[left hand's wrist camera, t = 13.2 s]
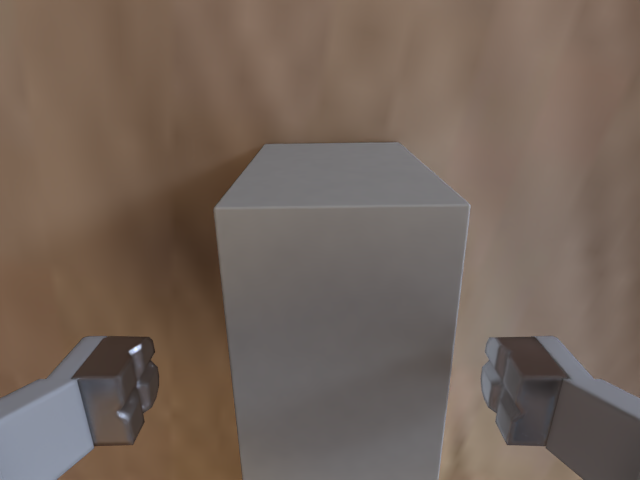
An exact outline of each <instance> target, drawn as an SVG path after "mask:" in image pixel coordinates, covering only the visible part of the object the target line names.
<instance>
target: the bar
mask: <svg viewBox="0 0 640 480" xmlns="http://www.w3.org/2000/svg"><path fill="white" fill-rule="evenodd" d="M470 207H471V206H470V204H469V203H468V202H467V201H466V200H465V199H463V198H462V197H461V196H460V195H459V194H458V193H457V192H455V191H454V190H453V189H452V188H451V187H450V186H448V185H447V184H446V183H445V182H444V181H443V180H442V179H440V178H439V177H438V176H437V175H436V174H435V173H434V172H432V171H431V170H430V169H429V168H428V167H427V166H426V165H424V164H423V163H422V162H421V161H420V160H419V159H417V158H416V157H415V156H414V155H413V154H412V153H411V152H409V151H408V150H407V149H406V148H405V147H404V146H403V145H401V144H400V143H399V142H385V143H311V144H265V145H264V146H263V147H262V148H261V150H260V151H259V152H258V153H257V155H256V156H255V157H254V158H253V160H252V161H251V162H250V163H249V165H248V166H247V167H246V168H245V169H244V171H243V172H242V173H241V174H240V176H239V177H238V178H237V179H236V181H235V182H234V183H233V184H232V186H231V187H230V188H229V189H228V191H227V192H226V193H225V194H224V196H223V197H222V198H221V199H220V201H219V202H218V203H217V204H216V206H215V207H214V209H213V210H214V219H215V229H216V238H217V247H218V256H219V266H220V275H221V284H222V293H223V303H224V312H225V321H226V330H227V340H228V349H229V358H230V367H231V377H232V386H233V395H234V405H235V414H236V423H237V432H238V442H239V451H240V460H241V469H242V479H243V480H438V478H439V470H440V461H441V453H442V444H443V436H444V427H445V419H446V410H447V402H448V393H449V385H450V376H451V368H452V359H453V351H454V342H455V334H456V325H457V317H458V308H459V300H460V291H461V283H462V275H463V266H464V258H465V249H466V241H467V232H468V224H469V215H470Z"/></svg>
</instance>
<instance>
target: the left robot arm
mask: <svg viewBox="0 0 640 480" xmlns="http://www.w3.org/2000/svg"><path fill="white" fill-rule="evenodd" d="M154 353H155V349H154V344H153V340H152V339H151V338H150V337H129V336H87V337H84V338H82V339H81V340H80V342H79V343H78V344H77V345H76V346H75V347H74V348H73V349H72V350H71V352H70V353H69V354H68V355H67V356H66V357H65V358H64V359H63V360H62V362H61V363H60V364H59V365H58V366H57V367H56V368H55V369H54V371H53V372H52V373H51V374H50V375H49V376H48V377H47V378H46V379H38V380H36V381H34V382H32V383H30V384H28V385H26V386H24V387H22V388H20V389H18V390H16V391H14V392H12V393H10V394H8V395H6V396H4V397H2V398H0V480H57V479H58V478H59V477H60V476H61V475H63V474H64V473H65V472H66V471H67V470H69V469H70V468H71V467H72V466H73V465H75V464H76V463H77V462H78V461H79V460H81V459H82V458H83V457H84V456H85V455H87V454H88V453H89V452H90V451H91V450H93V449H94V446H112V445H133V444H134V442H135V440H136V438H137V436H138V434H139V432H140V430H141V428H142V426H143V424H144V422H145V421H144V416H143V413H144V412H146V411H147V410H149V409H150V408H152V406H153V404H154V402H155V400H156V397H157V392H158V388H159V372H158V367H157V366H156V365H155V364H154V363H153V362H152V361H151V358H152V356H153V355H154ZM485 353H486V355H487V356H488V358H489V361H488V362H487V363H486V364H485V365H484V366H483V367H482V373H481V388H482V393H483V397H484V400H485V402H486V404H487V406H488V407H489V408H490V409H491V410H493V411H494V412H496V413H497V416H496V421H495V422H496V424H497V426H498V428H499V430H500V432H501V434H502V436H503V438H504V440H505V442H506V444H507V445H527V446H546V449H548V450H549V451H550V452H551V453H552V454H554V455H555V456H556V457H557V458H558V459H560V460H561V461H562V462H563V463H564V464H566V465H567V466H568V467H569V468H570V469H572V470H573V471H574V472H575V473H576V474H578V475H579V476H580V477H581V478H582V479H584V480H640V398H638V397H636V396H634V395H632V394H630V393H628V392H626V391H624V390H622V389H620V388H618V387H616V386H614V385H612V384H610V383H608V382H606V381H604V380H602V379H594V378H593V377H592V376H591V375H590V374H589V373H588V372H587V371H586V369H585V368H584V367H583V366H582V365H581V364H580V363H579V362H578V360H577V359H576V358H575V357H574V356H573V355H572V354H571V353H570V352H569V350H568V349H567V348H566V347H565V346H564V345H563V344H562V343H561V342H560V340H559V339H558V338H556V337H554V336H531V337H489V339H488V341H487V343H486V349H485Z"/></svg>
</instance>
